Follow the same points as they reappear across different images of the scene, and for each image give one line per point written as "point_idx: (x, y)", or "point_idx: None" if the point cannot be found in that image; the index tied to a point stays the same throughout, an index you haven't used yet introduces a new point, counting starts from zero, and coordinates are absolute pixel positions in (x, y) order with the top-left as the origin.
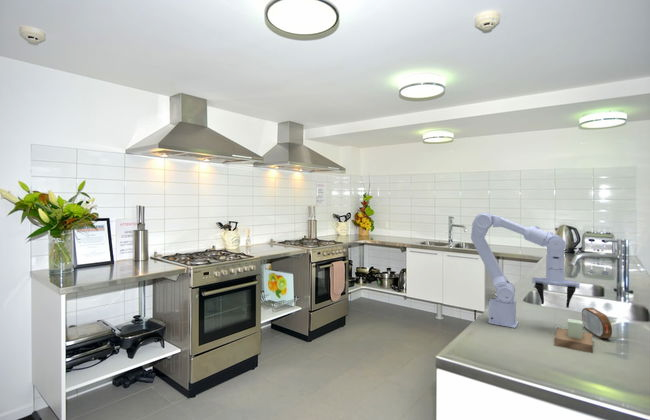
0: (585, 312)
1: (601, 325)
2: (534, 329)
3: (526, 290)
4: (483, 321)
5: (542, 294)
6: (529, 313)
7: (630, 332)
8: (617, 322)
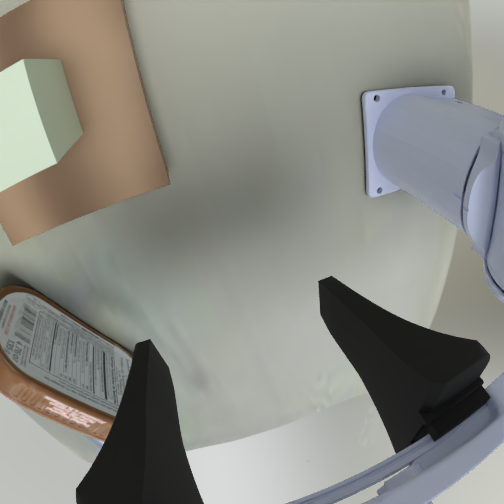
0: None
1: (2, 325)
2: (285, 154)
3: (359, 443)
4: None
5: (376, 330)
6: None
7: None
8: None
